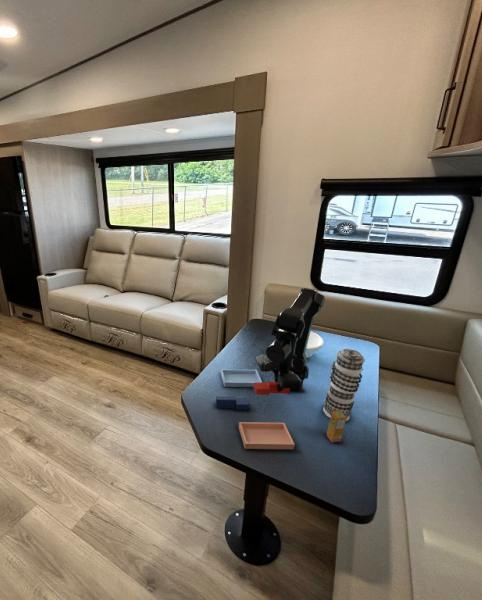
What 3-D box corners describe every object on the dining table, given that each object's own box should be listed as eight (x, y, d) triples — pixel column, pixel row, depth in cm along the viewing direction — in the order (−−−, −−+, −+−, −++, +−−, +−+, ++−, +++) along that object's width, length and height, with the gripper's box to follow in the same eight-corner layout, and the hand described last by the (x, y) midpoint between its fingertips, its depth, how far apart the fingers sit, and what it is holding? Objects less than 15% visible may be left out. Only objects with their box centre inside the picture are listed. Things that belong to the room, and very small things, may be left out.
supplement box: (325, 435, 103) (331, 410, 100) (335, 434, 104) (341, 410, 100) (331, 443, 100) (337, 418, 97) (341, 442, 101) (348, 417, 97)
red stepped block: (286, 388, 110) (287, 380, 109) (290, 395, 107) (291, 386, 105) (253, 387, 110) (254, 379, 109) (256, 394, 107) (257, 386, 105)
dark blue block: (216, 409, 115) (217, 401, 113) (215, 402, 118) (215, 394, 117) (247, 409, 115) (249, 401, 113) (245, 402, 118) (246, 394, 117)
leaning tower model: (321, 401, 119) (335, 343, 110) (349, 408, 115) (366, 349, 106) (321, 417, 111) (336, 355, 102) (351, 425, 107) (369, 362, 98)
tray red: (283, 427, 106) (284, 422, 106) (293, 449, 98) (294, 444, 97) (238, 426, 107) (239, 422, 106) (244, 448, 98) (245, 443, 97)
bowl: (323, 348, 155) (326, 333, 152) (317, 369, 139) (320, 353, 136) (279, 337, 166) (281, 323, 163) (268, 355, 149) (270, 340, 146)
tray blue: (255, 373, 135) (256, 369, 135) (262, 387, 127) (262, 382, 126) (220, 373, 136) (220, 369, 135) (224, 386, 127) (224, 382, 126)
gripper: (253, 335, 111) (248, 373, 117) (269, 364, 94) (262, 407, 99) (284, 336, 111) (278, 373, 117) (306, 365, 94) (297, 408, 99)
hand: (278, 389), depth 108 cm, fingers closed on red stepped block, 2 cm apart
